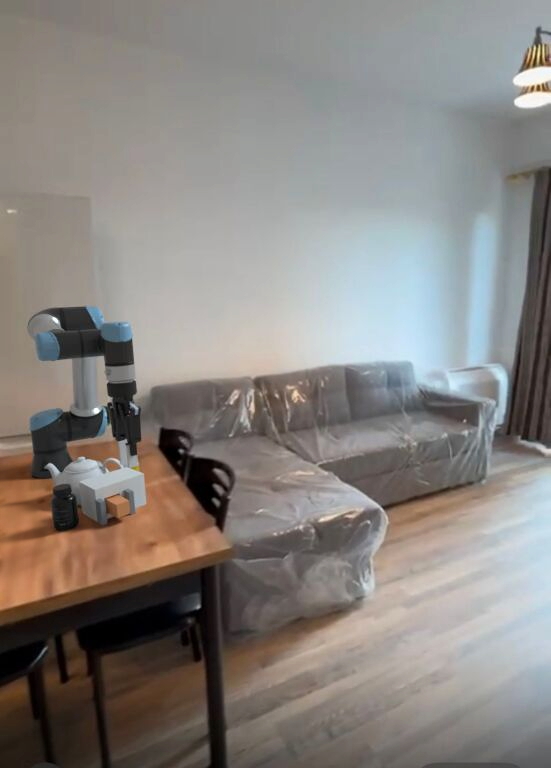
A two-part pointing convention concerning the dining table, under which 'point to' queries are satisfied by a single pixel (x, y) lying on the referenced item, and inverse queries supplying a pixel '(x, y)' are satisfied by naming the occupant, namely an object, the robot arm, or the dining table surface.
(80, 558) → the dining table surface
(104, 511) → the box
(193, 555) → the dining table surface
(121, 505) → the block
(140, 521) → the dining table surface
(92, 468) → the teapot
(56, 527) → the supplement bottle
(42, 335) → the robot arm
